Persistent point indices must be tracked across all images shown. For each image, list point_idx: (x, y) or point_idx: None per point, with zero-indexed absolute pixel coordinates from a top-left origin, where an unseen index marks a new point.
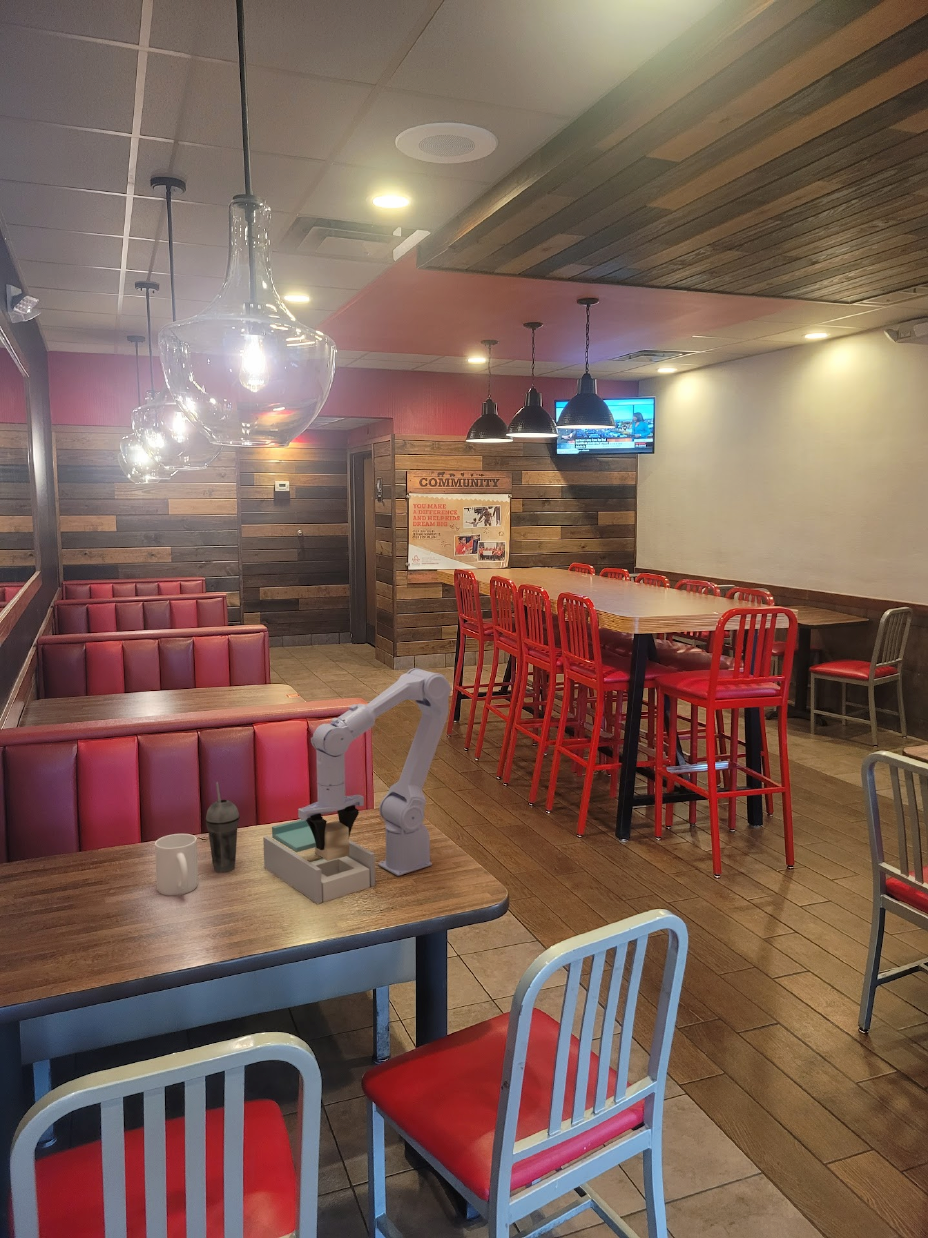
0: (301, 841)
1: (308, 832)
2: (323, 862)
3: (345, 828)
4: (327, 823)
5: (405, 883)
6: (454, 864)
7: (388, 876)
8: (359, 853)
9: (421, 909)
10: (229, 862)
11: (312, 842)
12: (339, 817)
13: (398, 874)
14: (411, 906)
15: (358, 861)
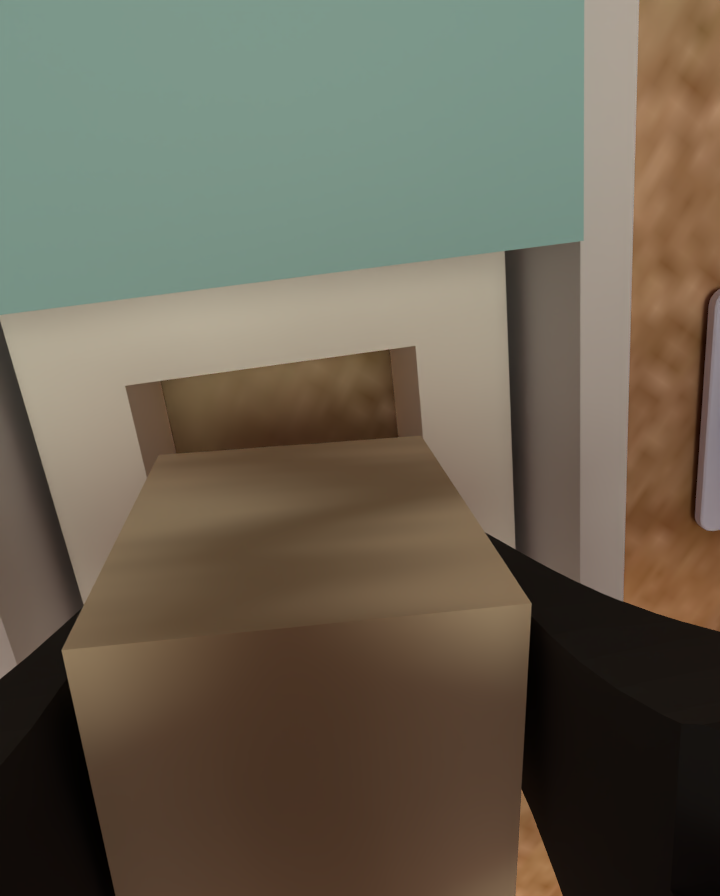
0: (20, 127)
1: None
2: (263, 352)
3: None
4: (312, 636)
5: (670, 616)
6: None
7: (656, 485)
8: (560, 532)
9: (550, 880)
10: None
11: (158, 260)
12: (578, 699)
13: (706, 528)
14: (531, 843)
15: (528, 485)
